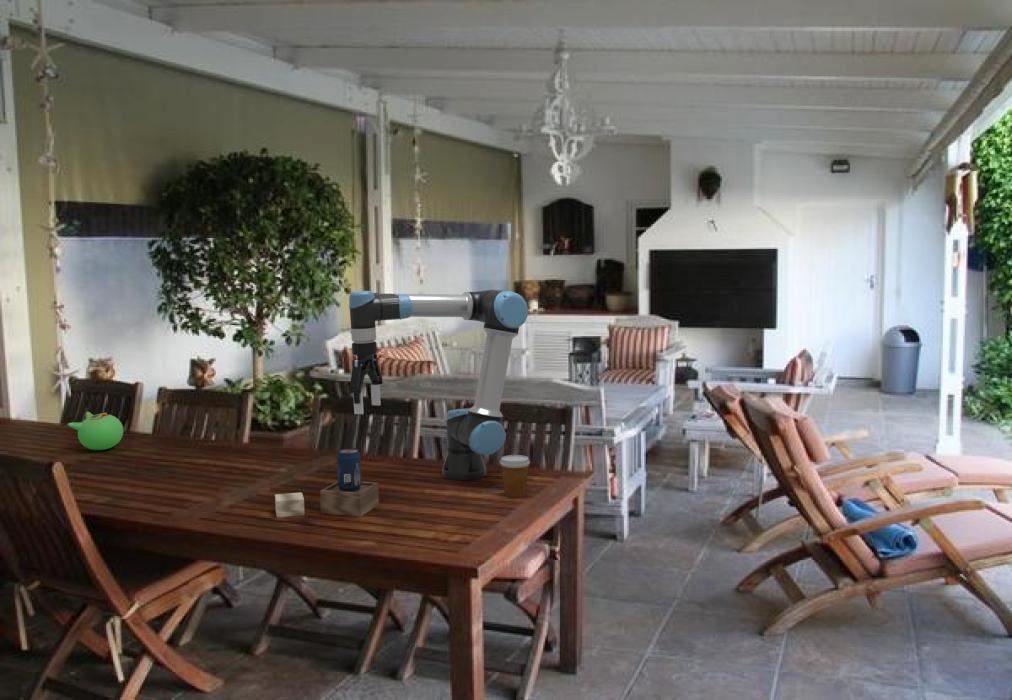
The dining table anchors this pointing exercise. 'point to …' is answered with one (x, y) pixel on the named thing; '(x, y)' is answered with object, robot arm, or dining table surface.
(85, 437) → the toy bird
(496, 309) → the robot arm
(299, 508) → the beech block
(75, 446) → the dining table surface
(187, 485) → the dining table surface
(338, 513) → the wooden crate
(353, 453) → the soda can
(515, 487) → the disposable coffee cup
